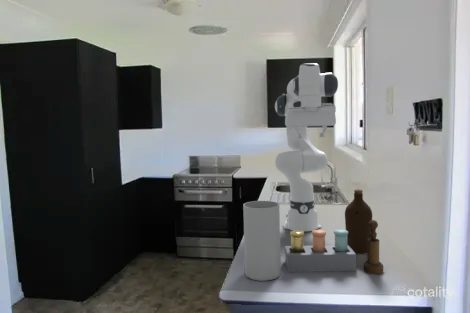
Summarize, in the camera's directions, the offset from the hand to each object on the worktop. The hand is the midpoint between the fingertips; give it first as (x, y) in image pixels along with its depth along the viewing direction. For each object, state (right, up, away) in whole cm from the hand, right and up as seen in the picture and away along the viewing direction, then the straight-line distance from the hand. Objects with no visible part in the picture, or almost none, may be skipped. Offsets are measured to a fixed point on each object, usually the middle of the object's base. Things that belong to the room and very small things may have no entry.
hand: (310, 137), depth 150 cm
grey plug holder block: (0, -48, -14) cm, 50 cm away
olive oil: (+20, -46, +1) cm, 50 cm away
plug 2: (0, -43, -15) cm, 45 cm away
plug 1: (-8, -43, -14) cm, 46 cm away
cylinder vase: (-21, -49, -20) cm, 57 cm away
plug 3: (+8, -43, -15) cm, 46 cm away
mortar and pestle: (+18, -48, -20) cm, 55 cm away
